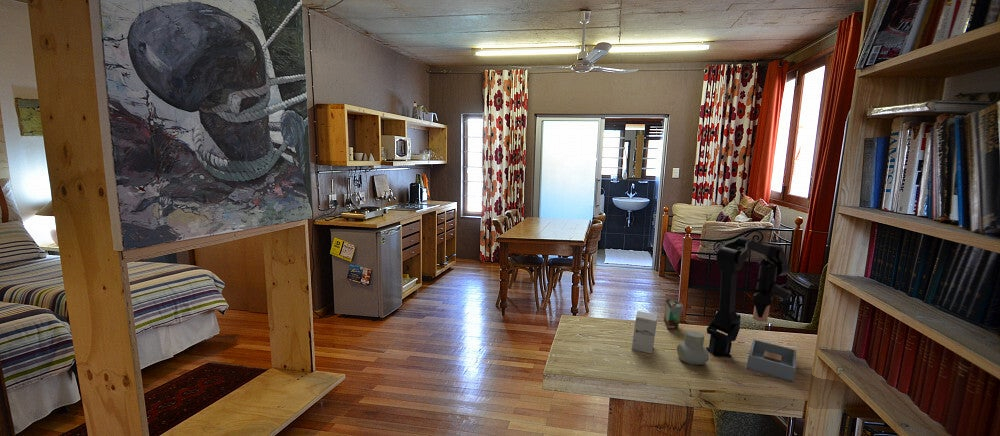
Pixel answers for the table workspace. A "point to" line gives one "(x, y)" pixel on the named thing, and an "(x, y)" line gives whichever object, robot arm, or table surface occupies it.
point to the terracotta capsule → (764, 317)
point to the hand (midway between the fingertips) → (760, 315)
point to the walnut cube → (772, 357)
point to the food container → (672, 313)
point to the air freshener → (693, 349)
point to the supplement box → (644, 332)
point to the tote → (772, 368)
